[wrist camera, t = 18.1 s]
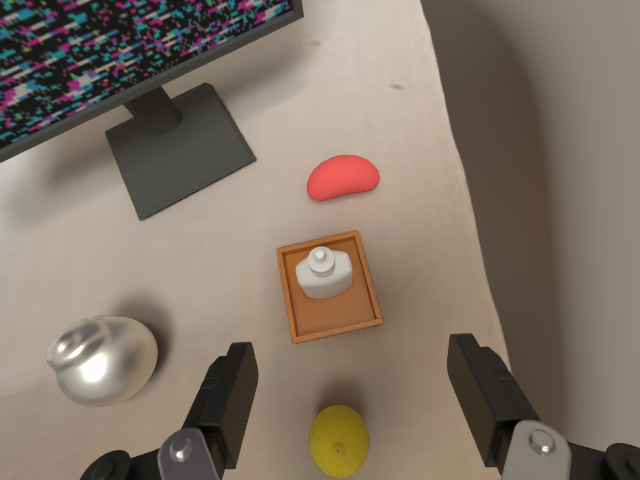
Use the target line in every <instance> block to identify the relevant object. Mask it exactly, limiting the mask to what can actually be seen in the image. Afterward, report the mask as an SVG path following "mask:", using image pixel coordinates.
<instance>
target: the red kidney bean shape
mask: <svg viewBox="0 0 640 480" xmlns="http://www.w3.org/2000/svg"><path fill="white" fill-rule="evenodd" d="M379 179H380V175H379V173H378V170H377V169H376V168H375V166H374V165H373V164H372V163H371V162H369V161H368V160H367V159H364V158H361V157H359V156H354V155H341V156H336V157H333V158H330V159H328V160H326V161H324V162H322V163H321V164H320V165H319V166H317V167H316V168H315V169H314V171H313V172H312V174H311V175H310V177H309V180H308V183H307V192H308V194H309V195H310V196H311V197H312V198H313V199H315V200H318V201H322V200H327V199H331V198H334V197H337V196H340V195H342V194H346V193H356V192H364V191H369V190H372V189H373V188H375V187H376V186H377V184H378V183H379Z"/></svg>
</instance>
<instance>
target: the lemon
mask: <svg viewBox="0 0 640 480" xmlns="http://www.w3.org/2000/svg"><path fill="white" fill-rule="evenodd" d="M309 442H310V450H311V454H312V457H313V459H314V461H315V463H316V464H317V466H318V467H319V468H320V469H321V470H322V471H323V472H325V473H326V474H328V475H330V476H333V477H336V478H344V477H348V476H351V475H352V474H354V473H355V472H357V471H358V470H359V469H360V468H361V466H362V465H363V464H364V462H365V460H366V458H367V454H368V450H369V434H368V430H367V427H366V425H365V422H364V420H363V419H362V418H361V416H360V415H359V414H358V413H357V412H356V411H354V410H353V409H352V408H349V407H347V406H344V405H333V406H330V407H328V408H325V409H324V410H323V411H322V412H320V413H319V414H318V416H317V417H316V418H315V420H314V422H313V424H312V427H311V430H310V436H309Z"/></svg>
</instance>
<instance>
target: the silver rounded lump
mask: <svg viewBox="0 0 640 480" xmlns="http://www.w3.org/2000/svg"><path fill="white" fill-rule="evenodd" d="M157 356H158V349H157V344H156V340H155V338H154V336H153V334H152V333H151V331H150V330H149V329H148V328H147V327H146V326H145V325H143V324H142V323H140V322H138V321H136V320H134V319H131V318H127V317H108V316H105V315H98V316H94V317H92V318H83V319H80V320H78V321H76V322H74V323H73V324H71V325H69V326H68V327H66V328H65V329H64V330H63V331H61V332H60V333H59V334H58V336H57V337H56V338H55V339H54V341H53V342H52V344H51V345H50V347H49V348H48V350H47V353H46V360H47V363H48V364H49V366H50V367H51V368H52V369H53V370H54V371H55V375H56V380H57V384H58V386H59V388H60V390H61V391H62V393H63V394H64V395H65V396H66V397H67V398H68V399H70V400H71V401H73V402H75V403H77V404H79V405H82V406H86V407H106V406H111V405H115V404H117V403H120V402H122V401H124V400H126V399H128V398H130V397H131V396H133V395H134V394H135V393H137V392H138V391H139V390H140V389H141V388H142V387H143V386H144V385H145V384H146V383H147V381H148V380H149V378H150V377H151V375H152V373H153V371H154V369H155V366H156V362H157Z"/></svg>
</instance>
